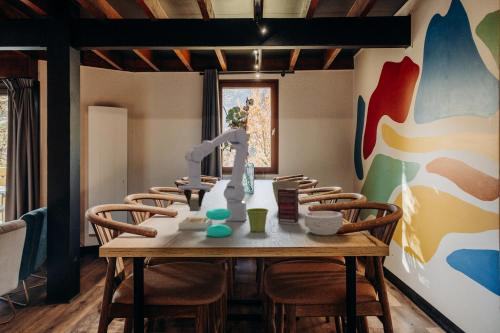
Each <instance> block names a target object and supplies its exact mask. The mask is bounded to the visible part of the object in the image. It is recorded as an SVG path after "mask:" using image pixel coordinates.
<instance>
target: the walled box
mask: <svg viewBox="0 0 500 333" xmlns="http://www.w3.org/2000/svg"><path fill="white" fill-rule="evenodd" d="M212 225H213V220H211V219H209V218H207V216H205V217H204V216H199V217H198V216H197V217H194V216H193V217H192V216H191V217H190V216H189V217H187V216H186V217H185V218H183V219H182V220H181V221H178V230H181V231H182V230H183V231H185V230H186V231H187V230H188V231H189V230H190V231H191V230H192V231H196V230H198V231H206V230H207V228H208V227H210V226H212Z"/></svg>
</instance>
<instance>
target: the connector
mask: <svg viewBox="0 0 500 333" xmlns="http://www.w3.org/2000/svg"><path fill="white" fill-rule="evenodd" d="M201 209H202V206H201V207H199V196H191V199H190V207H189V212H199V211H201Z"/></svg>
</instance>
